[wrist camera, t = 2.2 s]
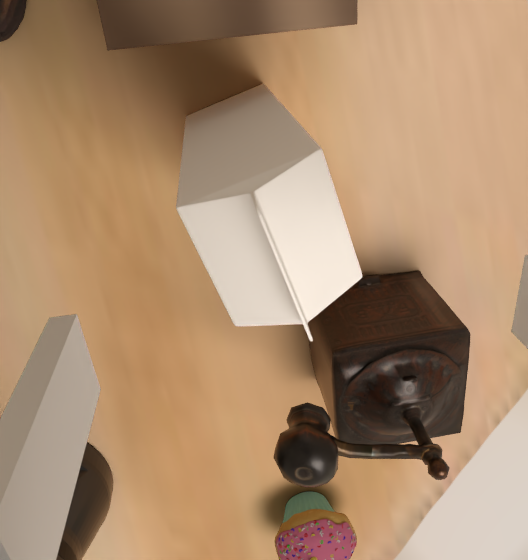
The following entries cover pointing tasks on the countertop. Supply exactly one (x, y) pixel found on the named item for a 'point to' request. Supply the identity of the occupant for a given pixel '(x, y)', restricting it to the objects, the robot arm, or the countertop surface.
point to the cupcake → (314, 530)
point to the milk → (263, 212)
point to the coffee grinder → (379, 380)
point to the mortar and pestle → (10, 17)
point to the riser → (214, 19)
